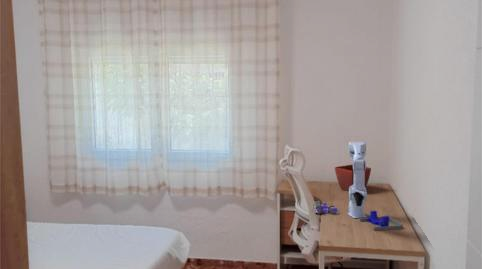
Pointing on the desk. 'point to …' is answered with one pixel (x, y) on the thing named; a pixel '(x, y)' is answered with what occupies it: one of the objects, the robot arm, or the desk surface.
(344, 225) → the desk surface
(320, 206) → the toy race car
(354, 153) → the robot arm
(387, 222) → the cable clip
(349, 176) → the plant pot
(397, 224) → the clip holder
